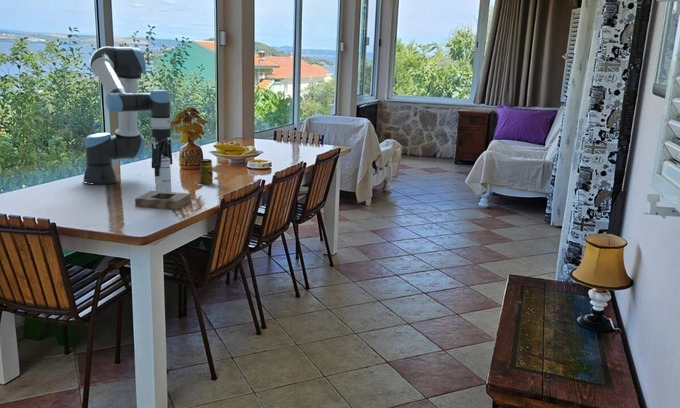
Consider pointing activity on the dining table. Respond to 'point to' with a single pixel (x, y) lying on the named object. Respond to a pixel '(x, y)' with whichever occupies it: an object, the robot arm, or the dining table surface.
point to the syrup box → (165, 176)
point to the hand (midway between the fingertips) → (162, 181)
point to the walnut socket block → (162, 200)
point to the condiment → (206, 172)
